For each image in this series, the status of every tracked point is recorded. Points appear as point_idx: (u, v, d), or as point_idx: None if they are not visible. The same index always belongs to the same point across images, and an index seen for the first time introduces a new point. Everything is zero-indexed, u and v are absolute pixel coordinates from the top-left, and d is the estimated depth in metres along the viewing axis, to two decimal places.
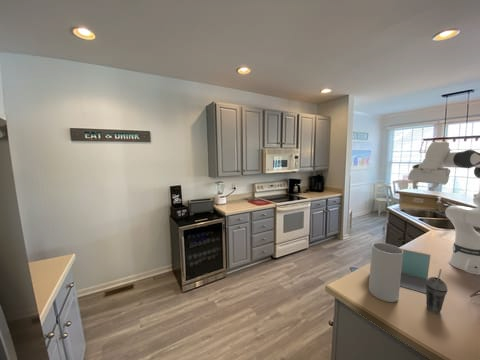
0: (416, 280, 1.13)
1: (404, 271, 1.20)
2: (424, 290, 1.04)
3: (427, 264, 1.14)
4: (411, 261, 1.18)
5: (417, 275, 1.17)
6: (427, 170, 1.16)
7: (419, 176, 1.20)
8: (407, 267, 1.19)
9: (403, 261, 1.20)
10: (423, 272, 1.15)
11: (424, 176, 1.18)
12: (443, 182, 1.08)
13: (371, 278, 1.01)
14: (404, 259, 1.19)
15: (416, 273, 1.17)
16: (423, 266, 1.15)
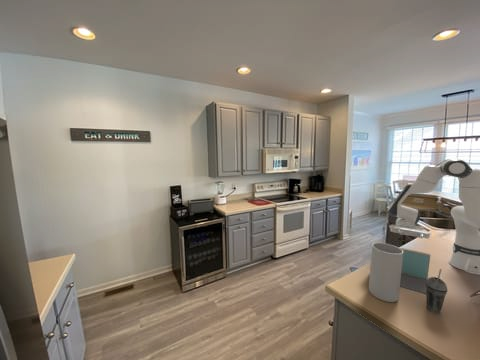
0: (416, 280, 1.13)
1: (404, 271, 1.20)
2: (424, 290, 1.04)
3: (427, 264, 1.14)
4: (411, 261, 1.18)
5: (417, 275, 1.17)
6: None
7: None
8: (407, 267, 1.19)
9: (403, 261, 1.20)
10: (423, 272, 1.15)
11: None
12: (391, 230, 1.36)
13: (371, 278, 1.01)
14: (404, 259, 1.19)
15: (416, 273, 1.17)
16: (423, 266, 1.15)
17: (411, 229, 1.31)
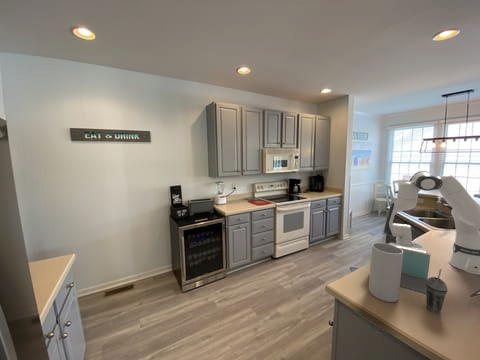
0: (416, 280, 1.13)
1: (404, 271, 1.20)
2: (424, 290, 1.04)
3: (427, 264, 1.14)
4: (411, 261, 1.18)
5: (417, 275, 1.17)
6: None
7: None
8: (407, 267, 1.19)
9: (403, 261, 1.20)
10: (423, 272, 1.15)
11: None
12: None
13: (371, 278, 1.01)
14: (404, 259, 1.19)
15: (416, 273, 1.17)
16: (423, 266, 1.15)
17: (409, 248, 1.33)
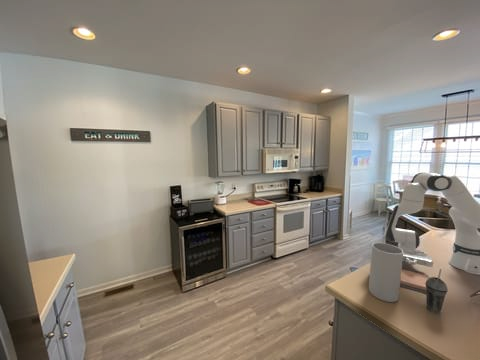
0: None
1: None
2: (424, 290, 1.04)
3: None
4: None
5: None
6: None
7: None
8: None
9: None
10: None
11: None
12: None
13: (371, 278, 1.01)
14: None
15: None
16: None
17: (412, 256, 1.22)
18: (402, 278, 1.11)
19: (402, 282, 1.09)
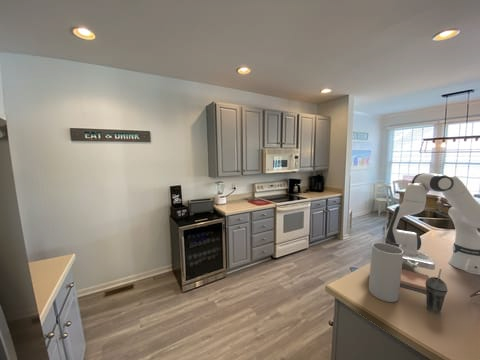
0: None
1: None
2: (424, 290, 1.04)
3: None
4: None
5: None
6: None
7: None
8: None
9: None
10: None
11: None
12: None
13: (371, 278, 1.01)
14: None
15: None
16: None
17: (414, 258, 1.19)
18: (402, 278, 1.11)
19: (402, 282, 1.09)
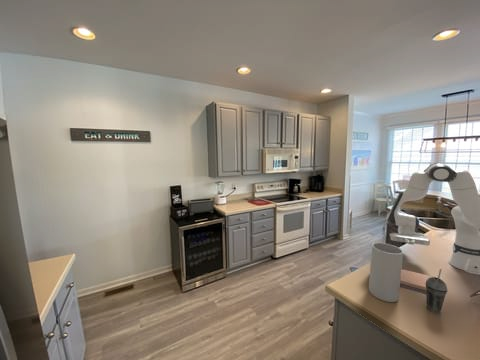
0: None
1: None
2: (424, 290, 1.04)
3: None
4: None
5: None
6: None
7: None
8: None
9: None
10: None
11: None
12: (391, 238, 1.38)
13: (371, 278, 1.01)
14: None
15: None
16: None
17: (411, 237, 1.33)
18: (402, 278, 1.11)
19: (402, 282, 1.09)
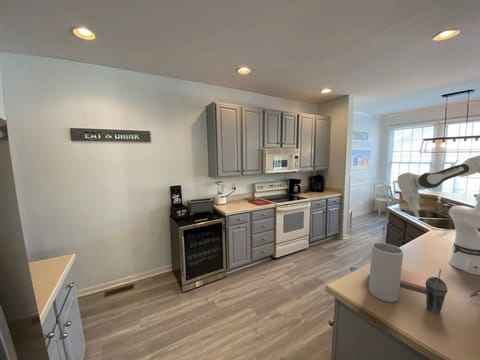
0: None
1: None
2: (424, 290, 1.04)
3: None
4: None
5: None
6: (406, 201, 1.32)
7: None
8: None
9: None
10: None
11: None
12: (412, 209, 1.24)
13: (371, 278, 1.01)
14: None
15: None
16: None
17: (417, 206, 1.30)
18: (402, 278, 1.11)
19: (402, 282, 1.09)
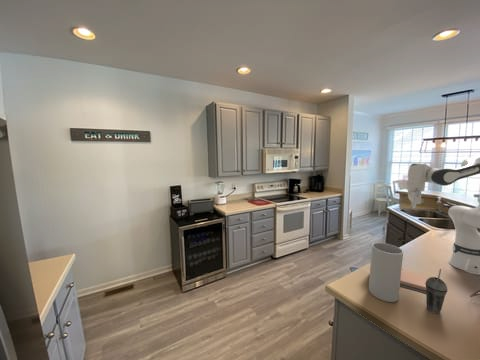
0: None
1: None
2: (424, 290, 1.04)
3: None
4: None
5: None
6: (409, 191, 1.30)
7: (410, 196, 1.33)
8: None
9: None
10: None
11: (410, 196, 1.31)
12: (415, 203, 1.22)
13: (371, 278, 1.01)
14: None
15: None
16: None
17: None
18: (402, 278, 1.11)
19: (402, 282, 1.09)
